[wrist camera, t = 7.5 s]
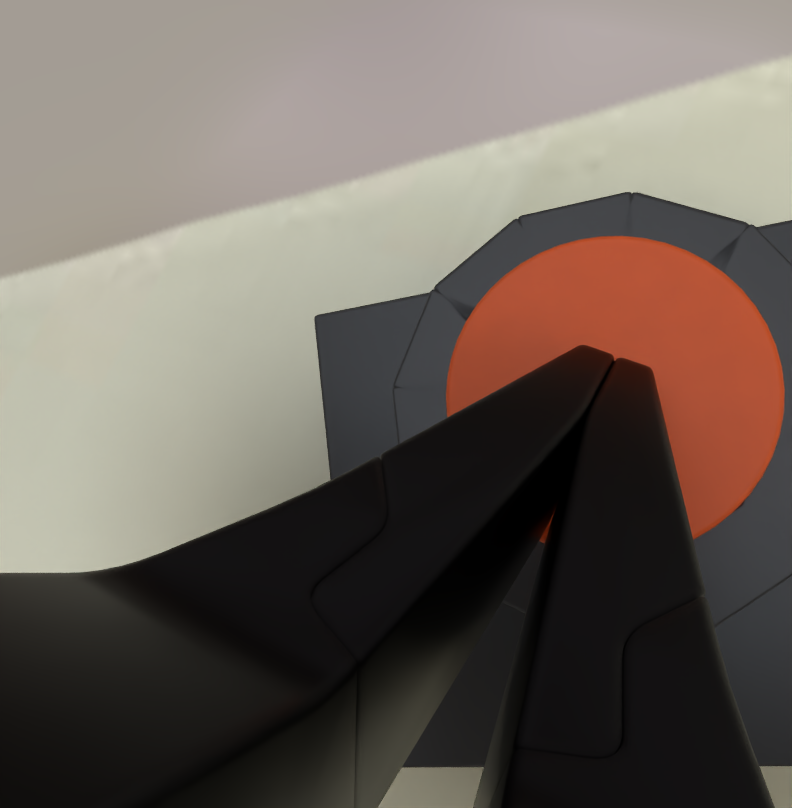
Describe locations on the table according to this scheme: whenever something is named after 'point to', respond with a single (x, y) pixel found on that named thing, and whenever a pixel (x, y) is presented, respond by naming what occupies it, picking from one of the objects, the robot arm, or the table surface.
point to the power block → (493, 654)
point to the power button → (642, 353)
